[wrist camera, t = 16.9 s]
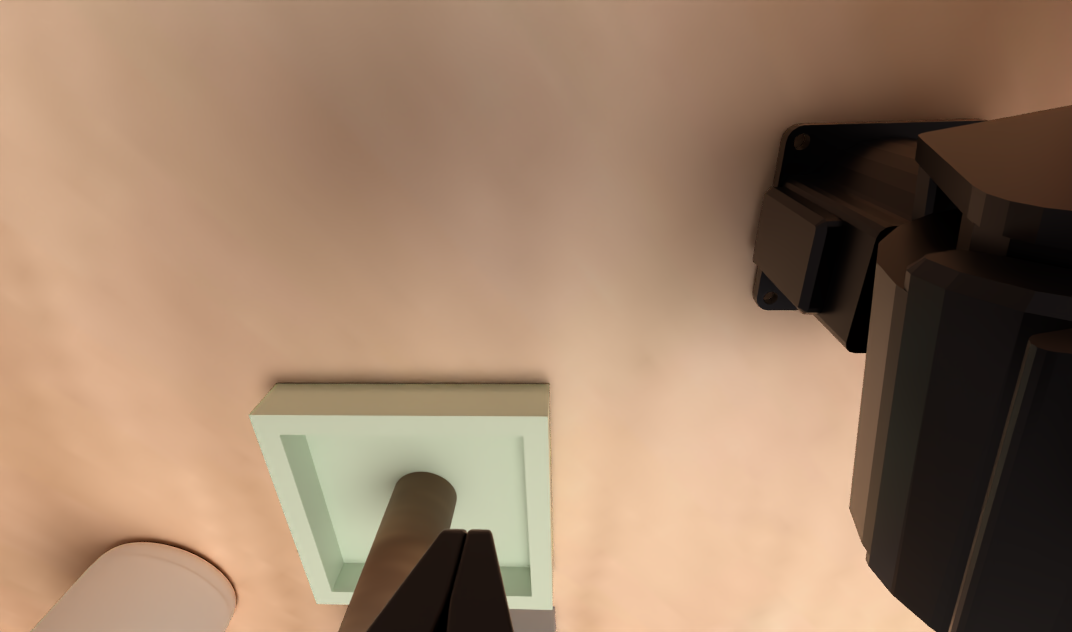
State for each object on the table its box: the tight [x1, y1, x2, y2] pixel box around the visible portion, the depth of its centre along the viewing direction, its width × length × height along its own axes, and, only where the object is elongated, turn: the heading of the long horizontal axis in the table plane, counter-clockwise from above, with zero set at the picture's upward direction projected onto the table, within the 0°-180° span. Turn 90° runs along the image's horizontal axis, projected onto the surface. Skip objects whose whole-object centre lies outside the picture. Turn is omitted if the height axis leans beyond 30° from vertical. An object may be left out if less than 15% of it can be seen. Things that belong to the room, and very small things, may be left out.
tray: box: [249, 383, 553, 610], centre depth 24 cm, size 12×12×2 cm
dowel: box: [338, 472, 457, 632], centre depth 21 cm, size 3×3×7 cm
